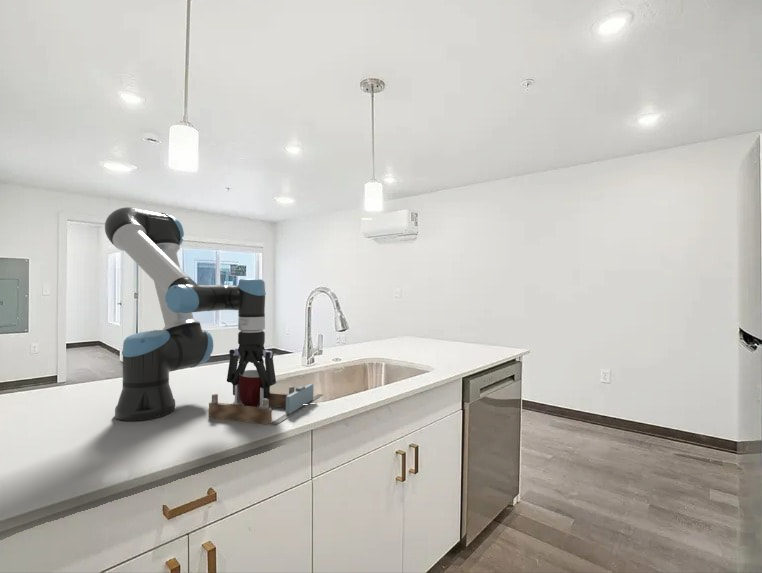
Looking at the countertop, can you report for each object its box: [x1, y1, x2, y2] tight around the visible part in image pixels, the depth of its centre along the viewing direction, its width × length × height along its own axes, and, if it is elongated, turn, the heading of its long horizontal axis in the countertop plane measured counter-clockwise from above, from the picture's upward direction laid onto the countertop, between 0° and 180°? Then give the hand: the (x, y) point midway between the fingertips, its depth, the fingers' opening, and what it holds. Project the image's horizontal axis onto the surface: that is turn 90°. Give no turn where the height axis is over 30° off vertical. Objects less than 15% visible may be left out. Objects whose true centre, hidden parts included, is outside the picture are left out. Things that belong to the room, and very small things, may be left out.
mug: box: [239, 369, 263, 407], centre depth 115 cm, size 10×8×10 cm
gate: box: [285, 383, 314, 414], centre depth 120 cm, size 2×15×6 cm, turn 164°
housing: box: [208, 385, 324, 427], centre depth 122 cm, size 22×31×6 cm
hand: (250, 407), depth 115 cm, fingers closed on mug, 8 cm apart
